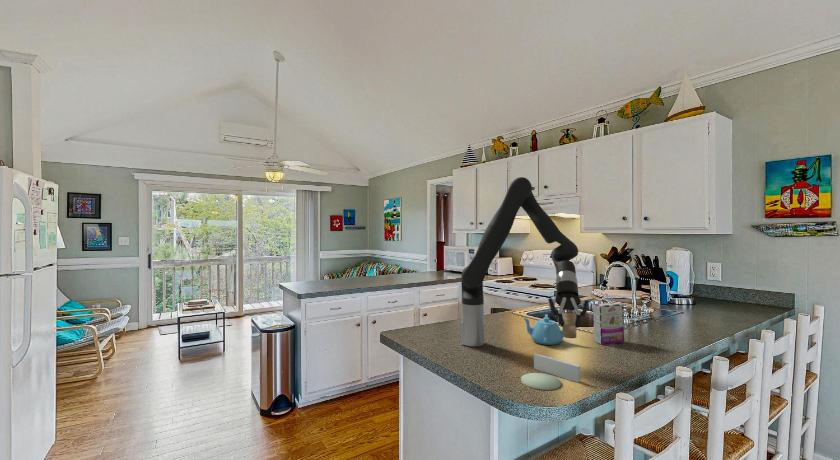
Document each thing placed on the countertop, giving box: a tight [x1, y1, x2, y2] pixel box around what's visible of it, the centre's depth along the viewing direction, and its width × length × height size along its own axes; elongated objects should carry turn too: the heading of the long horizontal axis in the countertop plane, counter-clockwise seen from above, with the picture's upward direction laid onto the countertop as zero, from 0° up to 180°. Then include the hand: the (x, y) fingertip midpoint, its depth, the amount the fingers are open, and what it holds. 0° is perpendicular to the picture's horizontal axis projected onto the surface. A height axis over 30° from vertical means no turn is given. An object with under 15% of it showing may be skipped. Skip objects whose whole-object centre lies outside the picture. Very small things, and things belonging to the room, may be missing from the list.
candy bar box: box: [592, 302, 625, 346], centre depth 158 cm, size 11×5×16 cm, turn 102°
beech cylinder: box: [561, 311, 577, 339], centre depth 129 cm, size 4×4×8 cm
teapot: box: [521, 313, 564, 346], centre depth 161 cm, size 15×15×10 cm
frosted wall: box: [533, 353, 582, 383], centre depth 123 cm, size 16×2×5 cm, turn 39°
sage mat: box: [520, 372, 562, 391], centre depth 118 cm, size 12×12×1 cm
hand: (569, 325), depth 128 cm, fingers closed on beech cylinder, 4 cm apart
